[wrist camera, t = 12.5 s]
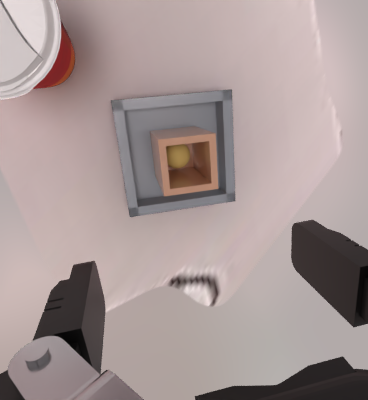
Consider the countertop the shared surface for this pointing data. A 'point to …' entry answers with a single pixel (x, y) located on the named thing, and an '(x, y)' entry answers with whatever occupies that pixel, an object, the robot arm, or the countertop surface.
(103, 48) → the countertop surface
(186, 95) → the tray
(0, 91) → the coffee cup
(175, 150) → the mustard ball
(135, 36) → the countertop surface
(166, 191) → the light brown open box
